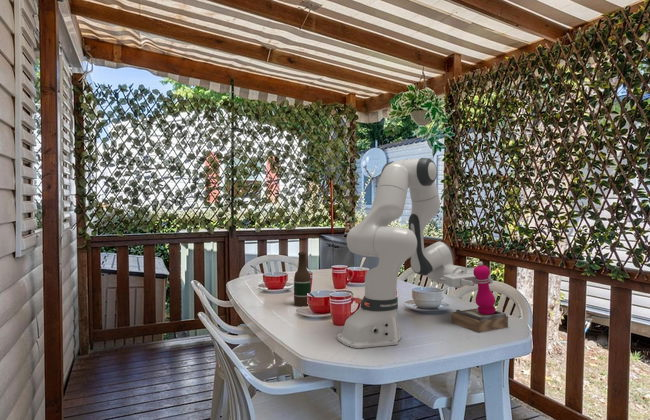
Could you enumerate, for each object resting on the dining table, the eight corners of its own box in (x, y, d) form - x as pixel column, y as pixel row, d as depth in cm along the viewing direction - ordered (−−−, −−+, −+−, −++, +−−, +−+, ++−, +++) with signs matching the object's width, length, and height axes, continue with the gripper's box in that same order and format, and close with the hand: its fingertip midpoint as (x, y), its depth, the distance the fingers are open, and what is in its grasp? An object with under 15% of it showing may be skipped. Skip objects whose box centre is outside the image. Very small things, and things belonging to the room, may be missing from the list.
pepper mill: (498, 314, 165) (491, 263, 163) (478, 316, 167) (471, 265, 165) (494, 307, 172) (488, 258, 170) (475, 309, 174) (469, 260, 172)
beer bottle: (304, 307, 195) (304, 253, 194) (290, 305, 199) (290, 252, 198) (314, 304, 201) (314, 251, 201) (300, 301, 206) (300, 250, 205)
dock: (478, 332, 159) (478, 318, 159) (451, 322, 172) (451, 309, 172) (507, 326, 166) (508, 313, 166) (479, 317, 179) (480, 305, 178)
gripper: (436, 270, 175) (461, 276, 162) (475, 267, 184) (501, 272, 171) (436, 286, 175) (461, 293, 163) (474, 282, 184) (501, 288, 172)
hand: (482, 282), depth 167 cm, fingers open, 8 cm apart
